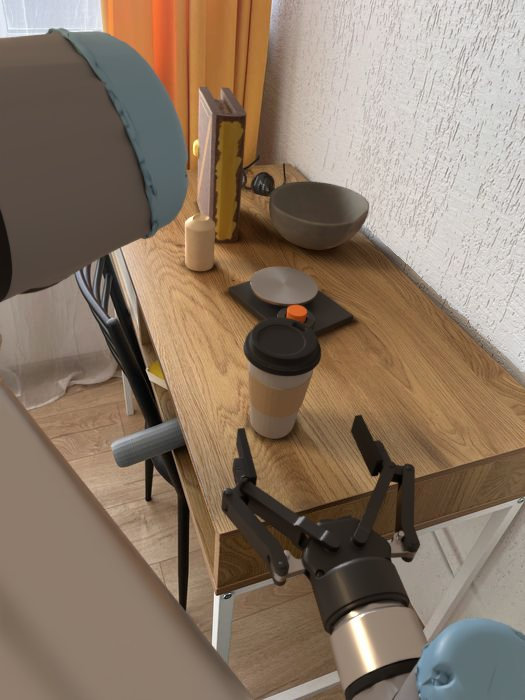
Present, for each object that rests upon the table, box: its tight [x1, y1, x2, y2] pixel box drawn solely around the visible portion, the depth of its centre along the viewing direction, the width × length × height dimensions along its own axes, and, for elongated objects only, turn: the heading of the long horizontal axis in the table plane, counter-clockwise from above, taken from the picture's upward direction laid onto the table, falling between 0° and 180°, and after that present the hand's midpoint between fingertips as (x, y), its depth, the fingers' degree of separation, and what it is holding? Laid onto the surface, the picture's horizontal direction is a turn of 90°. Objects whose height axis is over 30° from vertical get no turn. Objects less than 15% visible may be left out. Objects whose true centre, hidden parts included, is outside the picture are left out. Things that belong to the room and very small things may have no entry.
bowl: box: [268, 180, 370, 251], centre depth 110 cm, size 20×20×10 cm
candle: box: [184, 212, 216, 272], centre depth 99 cm, size 6×6×10 cm
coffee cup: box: [242, 317, 322, 440], centre depth 67 cm, size 9×9×15 cm
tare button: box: [286, 305, 307, 323], centre depth 86 cm, size 3×3×2 cm
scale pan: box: [249, 266, 319, 307], centre depth 93 cm, size 12×12×1 cm
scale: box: [227, 280, 354, 337], centre depth 93 cm, size 18×14×3 cm
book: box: [192, 86, 248, 243], centre depth 110 cm, size 22×8×25 cm, turn 13°
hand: (299, 429), depth 59 cm, fingers open, 13 cm apart
